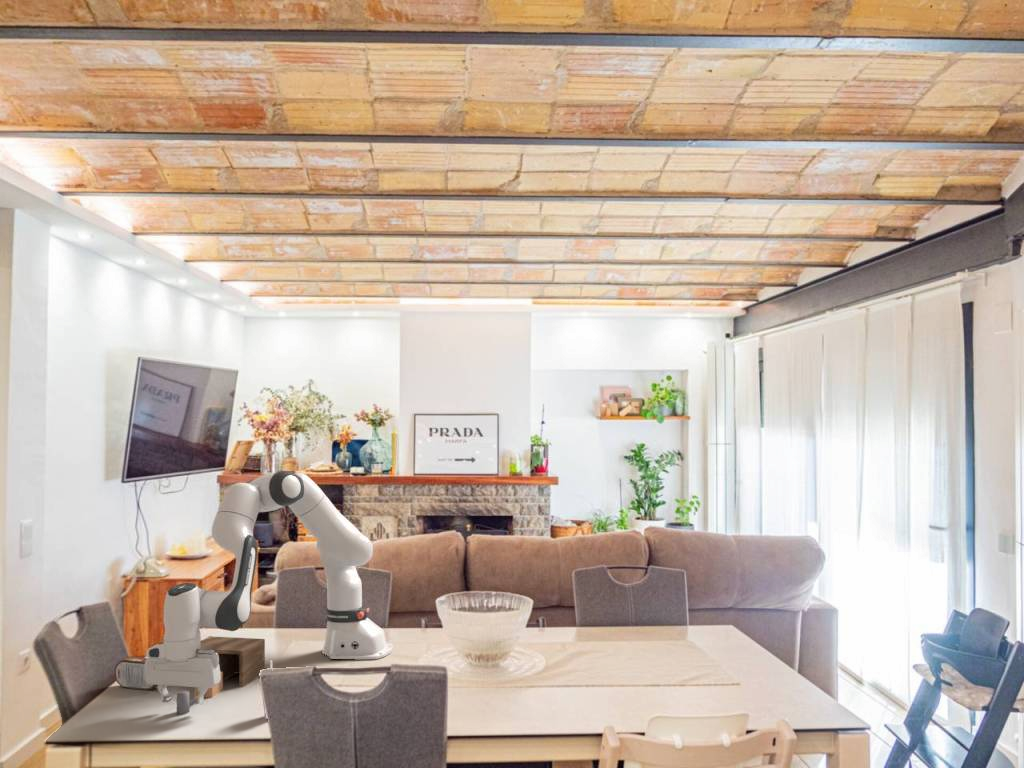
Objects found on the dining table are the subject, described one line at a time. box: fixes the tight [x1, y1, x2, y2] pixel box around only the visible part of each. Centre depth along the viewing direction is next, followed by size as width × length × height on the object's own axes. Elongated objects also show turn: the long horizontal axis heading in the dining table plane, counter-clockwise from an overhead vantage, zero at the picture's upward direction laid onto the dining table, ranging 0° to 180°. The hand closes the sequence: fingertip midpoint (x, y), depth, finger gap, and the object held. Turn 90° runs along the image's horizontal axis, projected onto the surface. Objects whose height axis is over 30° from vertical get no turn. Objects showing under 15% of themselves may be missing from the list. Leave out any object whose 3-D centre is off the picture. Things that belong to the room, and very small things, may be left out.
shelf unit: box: [201, 636, 266, 688], centre depth 229 cm, size 18×12×10 cm, turn 78°
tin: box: [114, 656, 158, 691], centre depth 221 cm, size 15×3×8 cm, turn 74°
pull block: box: [176, 672, 224, 715], centre depth 210 cm, size 5×18×5 cm, turn 175°
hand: (182, 702), depth 201 cm, fingers open, 8 cm apart
